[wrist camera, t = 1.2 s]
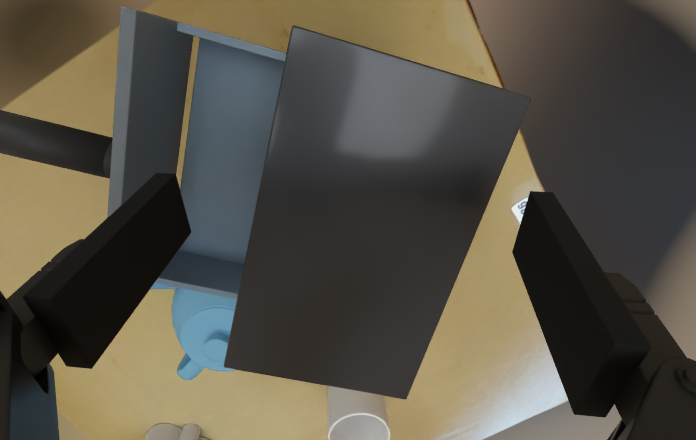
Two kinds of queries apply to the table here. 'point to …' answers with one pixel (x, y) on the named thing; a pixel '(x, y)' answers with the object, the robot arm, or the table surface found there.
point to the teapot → (201, 329)
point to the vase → (174, 432)
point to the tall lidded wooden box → (364, 213)
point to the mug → (356, 415)
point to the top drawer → (177, 138)
